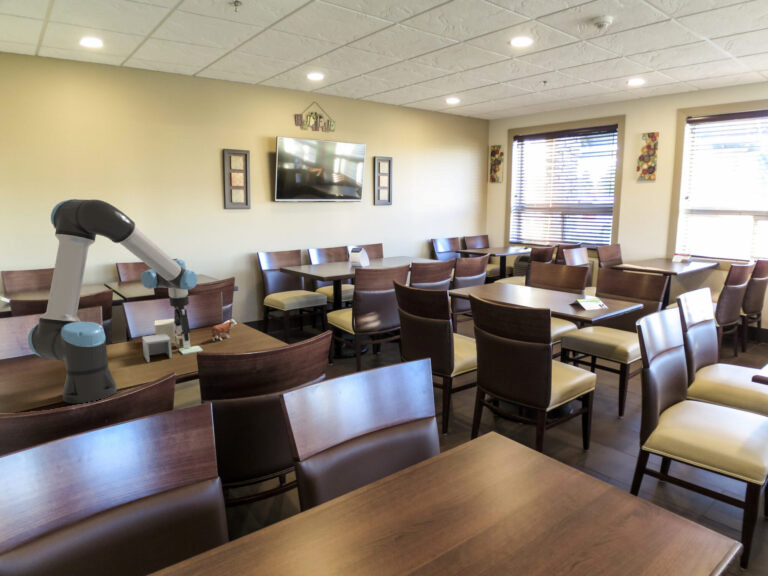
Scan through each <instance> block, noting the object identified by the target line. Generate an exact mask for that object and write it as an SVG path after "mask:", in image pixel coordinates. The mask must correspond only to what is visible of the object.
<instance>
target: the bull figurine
mask: <svg viewBox="0 0 768 576" xmlns="http://www.w3.org/2000/svg"><path fill="white" fill-rule="evenodd" d="M237 325H238V323H237V322H236V321H235V319H232V318H231V319H229V320H226V321H225V322H223V323H220V324H216V325H214V326H212V328H211V333H212V335H211V337H212V341H213V342H215V341H216V339H217V340H219V341H221V342H223V338H221V336H222V335H223V334H225V337H226V338H227V339H230V338H231V337H230V336H229V335H230V332H231V329H232V328H233V327H234V326H237ZM215 338H216V339H215Z"/></svg>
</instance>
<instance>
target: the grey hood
mask: <svg viewBox="0 0 768 576" xmlns="http://www.w3.org/2000/svg"><path fill="white" fill-rule="evenodd" d="M141 337H142V338H141V340H142V350H143V357H144V358H145V360H146V362H147V363H150V362H151V361H150V356H153V355H161V354H166V355H167V357H168V358H169V359H173V355H172V344H171V339H170V338H169V337H168V335H167V334H166V333H165V334H158V335H156V334H152V335H147V336H145V335H144V336H141Z"/></svg>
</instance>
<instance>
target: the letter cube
mask: <svg viewBox="0 0 768 576" xmlns="http://www.w3.org/2000/svg"><path fill="white" fill-rule="evenodd" d="M174 345H175V346H174V347H176V348H177V349H180V348H183V338H182V334H176V333H175V343H174Z"/></svg>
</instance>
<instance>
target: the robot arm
mask: <svg viewBox="0 0 768 576" xmlns="http://www.w3.org/2000/svg"><path fill="white" fill-rule="evenodd" d="M50 222H51V224H52V225H53V228H54V229H55V231H54V232H55V233H54V236H55V238H56V239H57V240H58V246H57V252H56V257H55V263H54V269H53V274H52V280H51V285H50V292H49V296H48V302H47V307H46V311H45V313H43V314H42V315H40V316H39V318H38V319H39V320H38V324H36V325H34V326H33V327H32V328H31V329H30V331H29V333H28V337H27V343H28V347H29V348H30V350H31V352H32V353H33V354H34V355H36V356H38V357H40V358H43V359H46V360H54V361H59V362H65V363H64V364H65V370H66V371H65V372H66V378H65V382H64V384H63V390H62V400H63V401H64V402H65V403H68V404H87V403H86V402H88V403H92V402H91V401H94V402H97V401H96V400H98V401H100V400H99V399H101V400H103V399H106V398H109V397H111V396H113V395H115V393H117V391H118V390H117V383H116V380H115V378H114V377H113V375H112V374H111V371H110V369H109V363H108V361H109V360H108V354H107V343H106V334H105V330H104V327H103V326H102V324H99V323H96V322H93V321H81V319H80V318H79V317H78V315H77V314H78V309H79V304H80V297H81V292H82V287H83V282H84V281H83V280H84V275H85V269H86V264H87V258H88V253H89V247H90V246H91V245H93V244H94V243H96V238H97V236H102V237H104V238H107V239H109V240H110V241H111V242H113V243H114V244H120V245H121V246H123V247H124V248H125V249H126V250H128V251H129V253H132V255H134V256H135V257H136V258H137V259H139V260H140V261H142V262H143V263H145V265H147V266H148V267H150V269H147V270H144V271H143V272H141V276H140V280H141V283H142V285H143V287H144V288H146V289H147V290H149V289H156V288H164V289H168V296H169V305H170V306H171V307H172V308H173V311H174V312H173V314H174V318H173V319H174V325H175V335H176V334H182V338H183V348H184V349H185V348H191V347H192V346H191V340H190V336H191V335H190V333H191V329H190V323H189V318H188V311H187V308H185V307H186V306H188V305H189V304H190V300H189V298H190V297H189V296H188V295H189V291H188V290H192V289H193V290H194V288H195V287H196V286H197V284H198V276H197V274H196V272H195V271H194V270H189V269H187V266H186V262H185V261H184V260H183V259H173V258H172V257H171V256H170V255H168V254H167V253H166V252H165V251H164V250H163V249H162V248H160V247H159V246H158V245H157V244H155V243H154V242H153V241H152V239H150V238H148V237H147V236H146V235H145V234H144V233H143V231H142V232H141V231H140V230H139V229H138V228H137V227H136V222H134V221H133V220H132V219H131V218H130V217H129V216H128V215H126V213H124V212H123V211H121V210H120V209H119V208H117V207H116V206H114V205H113V204H110V203H109V202H107V201H104V200H101V199H79V198H78V199H76V198H73V199H71V198H70V199H67V200H62V201H60V202H58V203H57V204H56V205H54V207H53V209H52V211H51V213H50Z"/></svg>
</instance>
